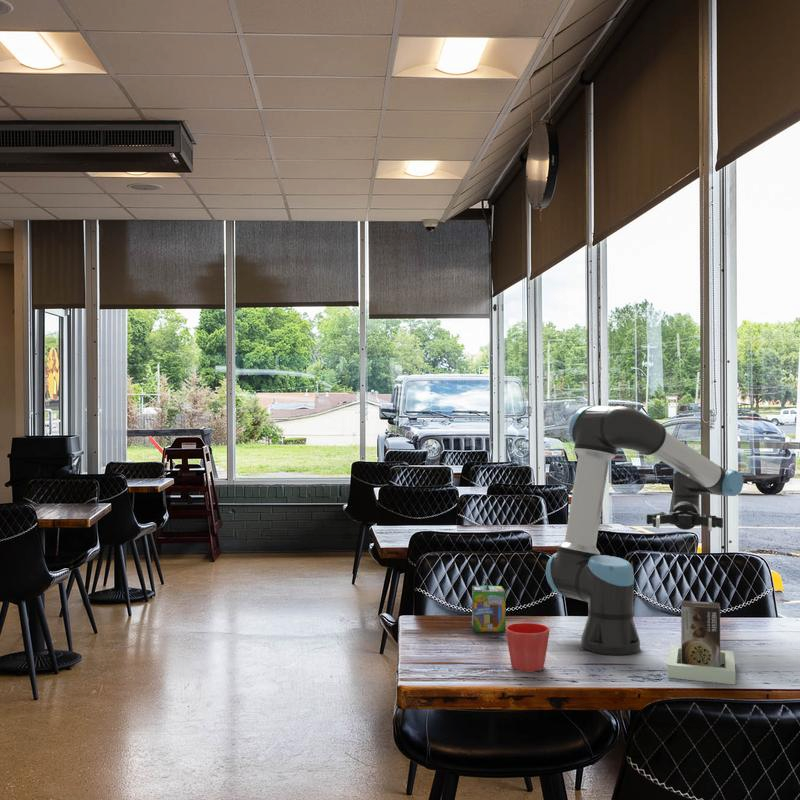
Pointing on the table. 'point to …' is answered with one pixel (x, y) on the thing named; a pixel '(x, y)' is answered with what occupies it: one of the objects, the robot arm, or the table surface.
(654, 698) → the table surface
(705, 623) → the coffee box
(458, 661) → the table surface
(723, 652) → the sage collar
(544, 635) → the flower pot
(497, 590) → the chalk box
